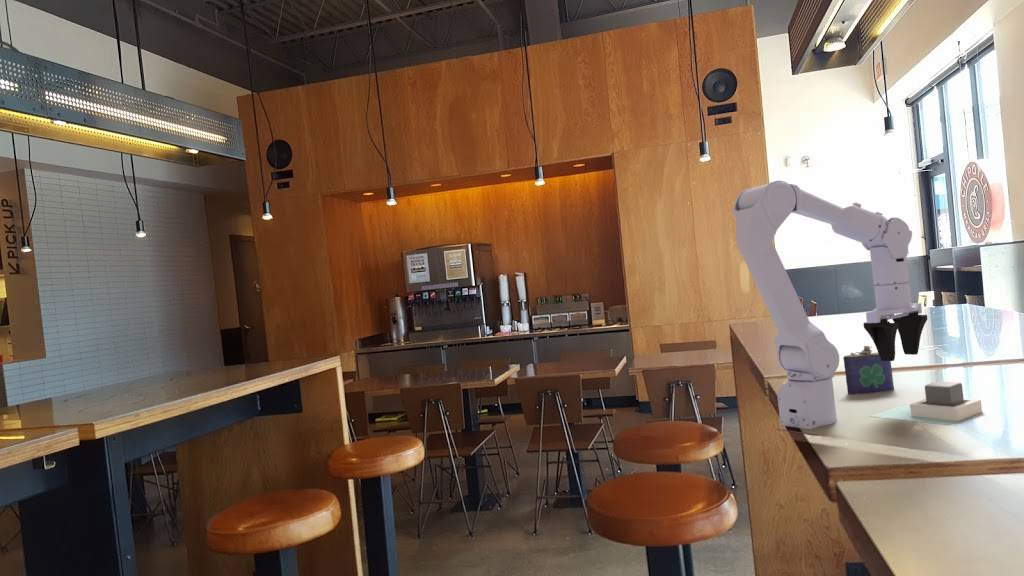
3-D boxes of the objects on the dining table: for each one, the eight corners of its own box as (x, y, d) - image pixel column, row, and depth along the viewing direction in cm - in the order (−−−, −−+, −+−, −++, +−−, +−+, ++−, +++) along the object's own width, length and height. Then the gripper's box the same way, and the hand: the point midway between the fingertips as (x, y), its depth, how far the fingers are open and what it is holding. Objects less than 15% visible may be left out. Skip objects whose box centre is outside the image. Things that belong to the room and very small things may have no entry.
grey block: (952, 416, 114) (949, 386, 114) (927, 414, 117) (924, 385, 117) (965, 412, 116) (961, 382, 116) (940, 409, 119) (936, 381, 119)
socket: (958, 420, 112) (957, 408, 112) (911, 415, 118) (909, 404, 118) (982, 411, 115) (980, 399, 115) (935, 407, 122) (933, 396, 122)
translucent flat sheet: (948, 432, 110) (948, 424, 110) (870, 423, 121) (869, 416, 121) (983, 418, 116) (982, 411, 116) (905, 411, 127) (905, 404, 127)
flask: (891, 393, 143) (885, 342, 143) (898, 396, 140) (892, 343, 140) (846, 398, 143) (840, 347, 143) (852, 401, 140) (846, 348, 140)
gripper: (890, 286, 119) (899, 364, 120) (935, 278, 127) (943, 352, 127) (852, 288, 126) (860, 362, 126) (897, 281, 133) (905, 351, 133)
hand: (899, 357), depth 127 cm, fingers open, 7 cm apart
